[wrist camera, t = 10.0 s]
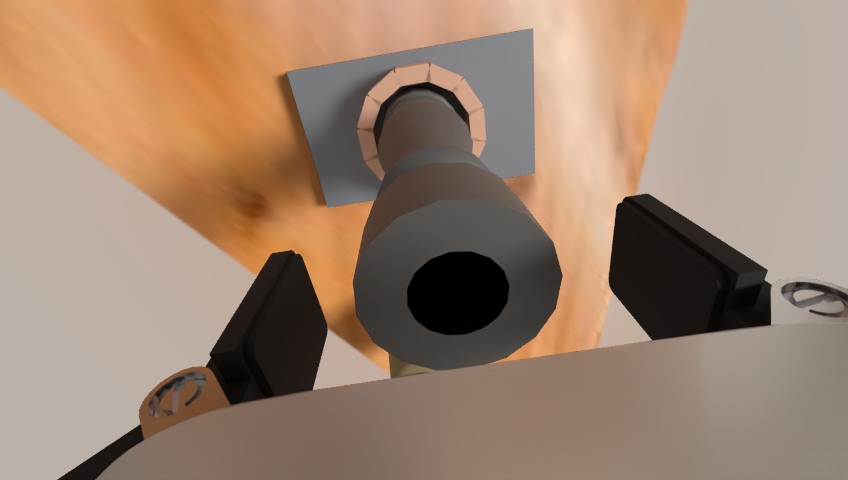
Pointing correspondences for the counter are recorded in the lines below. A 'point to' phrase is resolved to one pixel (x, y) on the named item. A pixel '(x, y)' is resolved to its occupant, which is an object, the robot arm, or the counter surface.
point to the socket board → (430, 66)
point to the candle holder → (448, 247)
